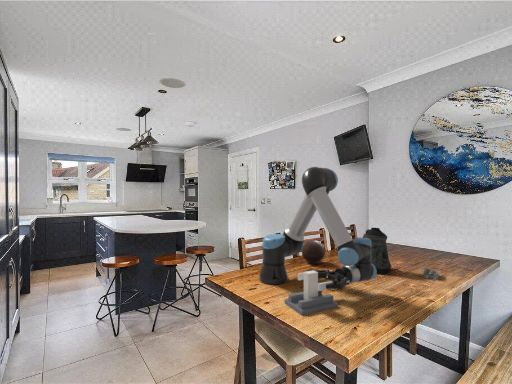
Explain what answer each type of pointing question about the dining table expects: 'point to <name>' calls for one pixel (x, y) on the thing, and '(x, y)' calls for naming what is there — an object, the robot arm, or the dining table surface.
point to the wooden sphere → (313, 251)
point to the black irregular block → (379, 250)
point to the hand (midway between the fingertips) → (307, 281)
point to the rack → (310, 303)
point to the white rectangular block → (310, 284)
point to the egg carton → (430, 274)
